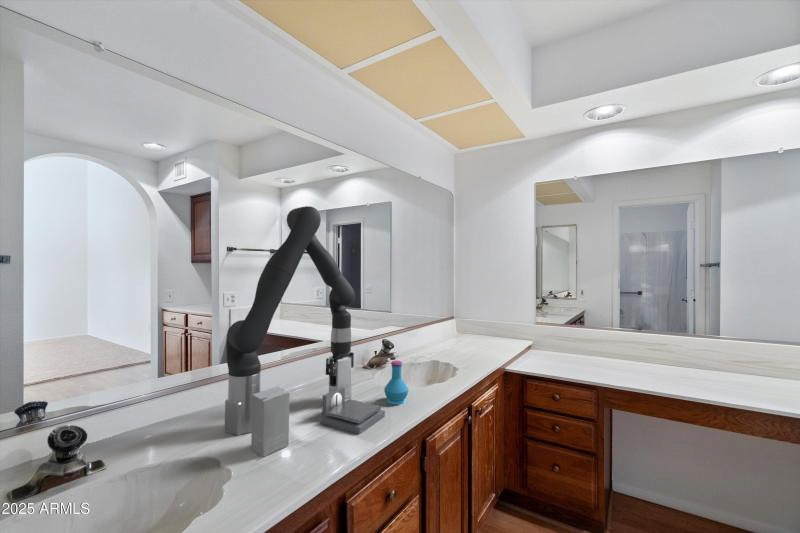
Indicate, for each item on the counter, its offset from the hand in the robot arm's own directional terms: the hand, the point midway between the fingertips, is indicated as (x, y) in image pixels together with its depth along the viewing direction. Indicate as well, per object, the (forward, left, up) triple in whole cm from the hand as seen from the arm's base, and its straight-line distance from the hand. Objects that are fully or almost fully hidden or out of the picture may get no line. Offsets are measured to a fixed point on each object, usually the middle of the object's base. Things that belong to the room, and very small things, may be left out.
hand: (339, 383), depth 136 cm
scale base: (-11, -14, -7) cm, 19 cm away
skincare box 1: (-38, -5, -7) cm, 39 cm away
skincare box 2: (0, 0, -5) cm, 5 cm away
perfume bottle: (+11, -18, -7) cm, 23 cm away
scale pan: (-11, -14, -5) cm, 18 cm away
